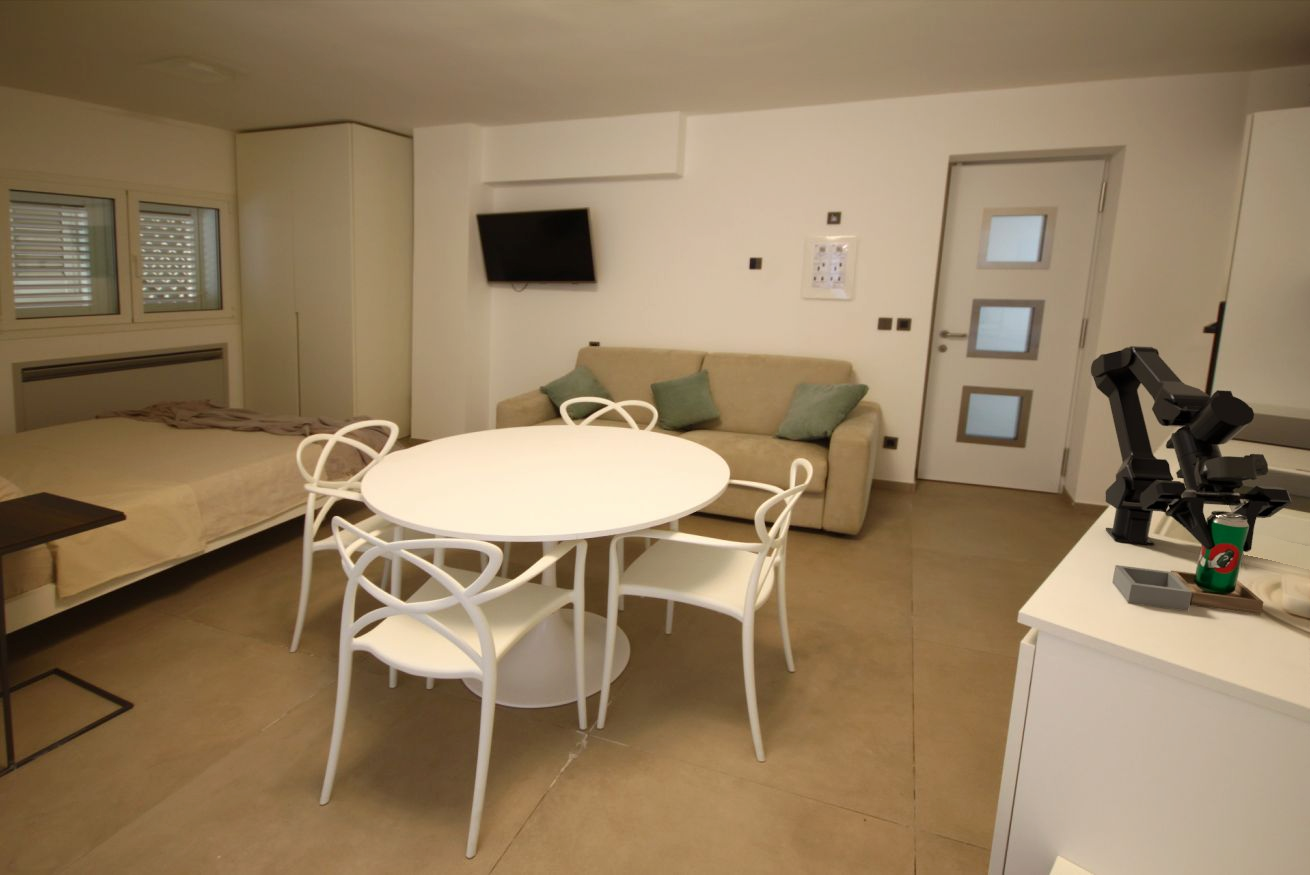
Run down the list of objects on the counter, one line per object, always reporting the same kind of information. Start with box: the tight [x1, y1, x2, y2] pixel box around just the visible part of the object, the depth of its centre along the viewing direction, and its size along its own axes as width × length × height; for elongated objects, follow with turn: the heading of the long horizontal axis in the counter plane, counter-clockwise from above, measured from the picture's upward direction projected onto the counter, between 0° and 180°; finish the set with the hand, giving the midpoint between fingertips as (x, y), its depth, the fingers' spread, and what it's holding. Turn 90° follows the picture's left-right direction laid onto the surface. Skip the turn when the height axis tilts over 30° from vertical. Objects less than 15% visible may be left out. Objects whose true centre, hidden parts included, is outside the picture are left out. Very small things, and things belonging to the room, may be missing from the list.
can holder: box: [1111, 564, 1192, 612], centre depth 110 cm, size 8×8×3 cm
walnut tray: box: [1170, 570, 1265, 615], centre depth 110 cm, size 9×9×2 cm
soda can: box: [1194, 510, 1249, 595], centre depth 108 cm, size 5×5×12 cm
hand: (1228, 549), depth 107 cm, fingers closed on soda can, 5 cm apart
